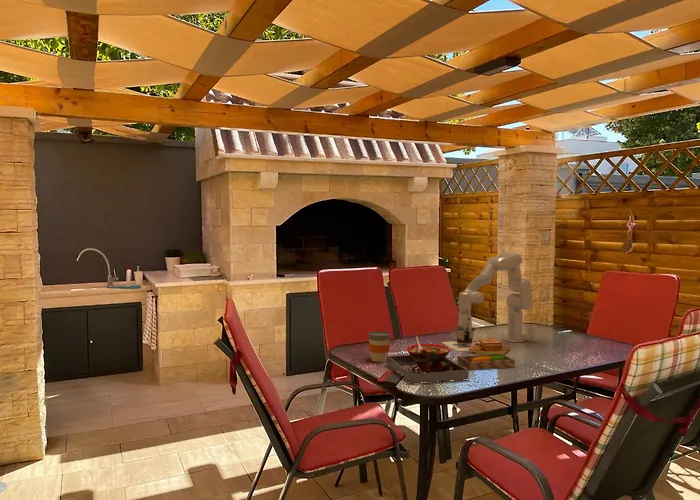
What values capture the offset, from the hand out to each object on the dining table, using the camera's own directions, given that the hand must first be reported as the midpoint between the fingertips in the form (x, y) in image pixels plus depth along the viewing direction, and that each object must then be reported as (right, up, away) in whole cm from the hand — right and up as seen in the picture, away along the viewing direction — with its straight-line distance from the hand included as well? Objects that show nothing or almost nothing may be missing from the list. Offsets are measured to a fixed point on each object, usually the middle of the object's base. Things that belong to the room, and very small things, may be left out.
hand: (464, 339), depth 341 cm
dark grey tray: (-33, -7, -60) cm, 69 cm away
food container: (0, -2, +1) cm, 2 cm away
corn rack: (+2, -7, -45) cm, 45 cm away
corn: (+3, -7, -47) cm, 48 cm away
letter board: (0, -4, 0) cm, 4 cm away
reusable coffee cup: (-56, -6, -35) cm, 66 cm away
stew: (-31, -7, -55) cm, 64 cm away
